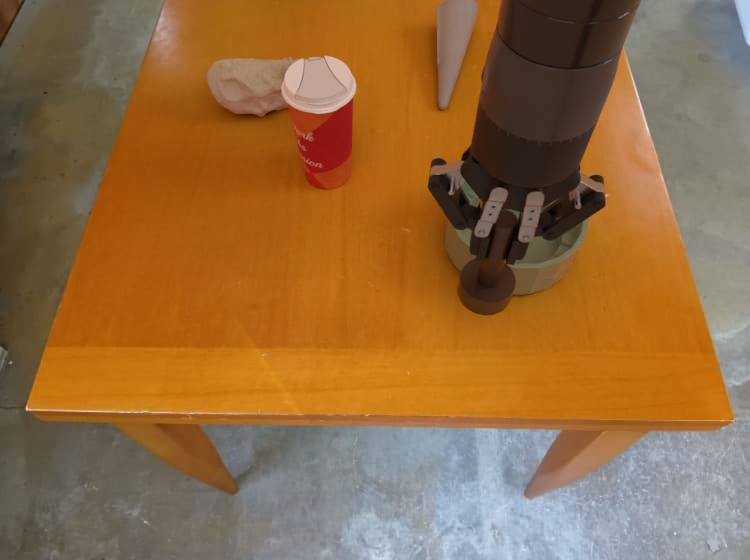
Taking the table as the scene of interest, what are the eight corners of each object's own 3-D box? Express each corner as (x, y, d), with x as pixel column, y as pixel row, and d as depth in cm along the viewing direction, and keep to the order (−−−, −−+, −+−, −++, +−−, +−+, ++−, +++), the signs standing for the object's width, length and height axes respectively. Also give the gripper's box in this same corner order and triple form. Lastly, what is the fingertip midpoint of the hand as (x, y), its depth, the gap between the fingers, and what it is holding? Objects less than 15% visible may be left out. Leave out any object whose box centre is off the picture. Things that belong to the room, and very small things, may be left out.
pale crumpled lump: (199, 121, 82) (226, 114, 69) (192, 67, 80) (218, 49, 67) (298, 117, 89) (340, 110, 76) (294, 68, 87) (336, 52, 74)
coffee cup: (293, 153, 76) (276, 56, 63) (354, 145, 77) (349, 47, 64) (300, 201, 71) (283, 107, 59) (365, 192, 72) (362, 97, 59)
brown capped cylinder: (522, 297, 55) (551, 224, 46) (482, 325, 54) (503, 256, 44) (486, 261, 57) (506, 185, 48) (446, 287, 56) (459, 213, 46)
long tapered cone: (484, 90, 76) (479, -7, 84) (436, 94, 77) (435, -3, 85) (483, 120, 81) (478, 26, 90) (437, 123, 82) (437, 29, 90)
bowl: (599, 253, 67) (617, 221, 62) (504, 321, 62) (516, 293, 57) (510, 175, 74) (519, 141, 68) (417, 231, 69) (421, 199, 64)
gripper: (424, 126, 34) (412, 280, 49) (662, 149, 33) (576, 301, 47) (436, 48, 38) (421, 213, 53) (649, 66, 37) (574, 230, 51)
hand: (495, 254), depth 50 cm, fingers closed on brown capped cylinder
